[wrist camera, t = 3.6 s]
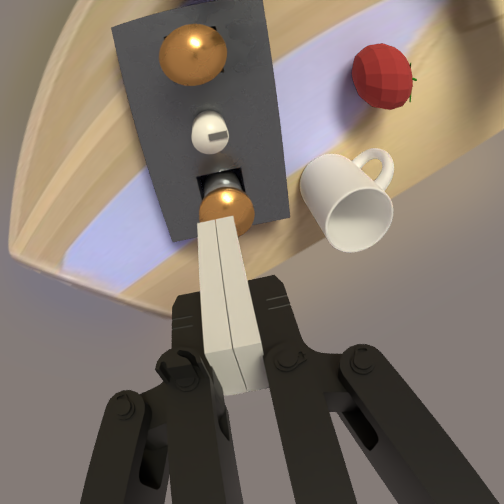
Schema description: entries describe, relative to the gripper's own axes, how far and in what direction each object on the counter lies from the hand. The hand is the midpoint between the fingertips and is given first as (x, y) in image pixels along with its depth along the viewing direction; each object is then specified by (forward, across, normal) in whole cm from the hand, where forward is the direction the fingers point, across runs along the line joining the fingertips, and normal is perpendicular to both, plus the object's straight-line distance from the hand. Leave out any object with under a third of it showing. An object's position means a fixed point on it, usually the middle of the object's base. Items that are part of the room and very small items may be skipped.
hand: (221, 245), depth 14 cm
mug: (+24, +15, -9) cm, 30 cm away
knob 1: (+21, 0, +8) cm, 22 cm away
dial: (+19, 0, 0) cm, 19 cm away
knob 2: (+21, 0, -7) cm, 22 cm away
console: (+24, 0, 0) cm, 24 cm away
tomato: (+24, +20, +4) cm, 32 cm away
